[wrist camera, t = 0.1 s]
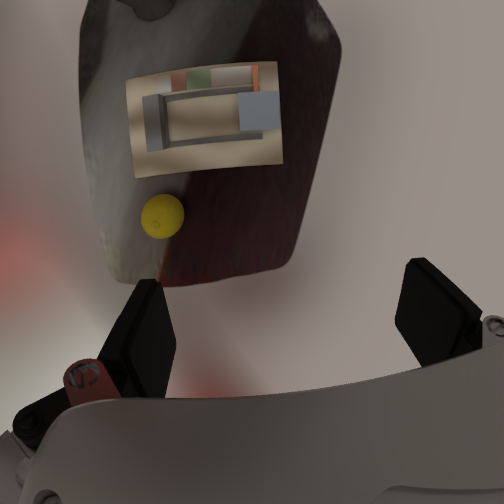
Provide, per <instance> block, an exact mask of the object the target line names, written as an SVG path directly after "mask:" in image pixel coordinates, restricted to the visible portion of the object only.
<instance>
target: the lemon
mask: <svg viewBox="0 0 504 504" xmlns="http://www.w3.org/2000/svg"><path fill="white" fill-rule="evenodd" d="M183 220H184V209H183V206H182V204H181V202H180V201H179V200H178V199H177V198H176V197H174V196H172V195H169V194H159V195H156V196H154V197H152V198H151V199H150V200H149V201H147V203H146V204H145V206H144V207H143V210H142V213H141V223H142V226H143V228H144V230H145V231H146V233H148V234H149V235H150V236H152V237H154V238H158V239H163V238H167V237H170V236H172V235H173V234H175V233H176V232H177V231H178V230H179V229H180V227H181V225H182V223H183Z"/></svg>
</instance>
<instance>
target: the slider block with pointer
mask: <svg viewBox="0 0 504 504" xmlns="http://www.w3.org/2000/svg"><path fill="white" fill-rule="evenodd" d="M252 76H253V90H254V92H243V93H238V104H239V119H240V131H248V130H265V129H280V112H279V96H278V91H261V92H259V87H258V72H257V65H252Z"/></svg>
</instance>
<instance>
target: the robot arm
mask: <svg viewBox="0 0 504 504" xmlns="http://www.w3.org/2000/svg"><path fill="white" fill-rule="evenodd" d="M481 314H482V310H481V309H480V308H479V307H478V306H477V305H476V304H475V303H474V302H473V301H472V300H471V299H470V298H469V297H467V295H466V294H464V293H463V292H462V291H461V290H460V289H459V288H458V287H457V286H456V285H455V284H454V283H453V282H451V280H449V279H448V278H447V277H446V276H445V275H444V274H443V273H442V272H441V271H440V270H438V269H437V268H436V267H435V266H434V265H433V264H432V263H430V262H429V261H428V260H427V259H426V258H424V257H423V258H412V259H411V260H410V261H409V262H408V263H407V264H406V268H405V273H404V279H403V284H402V289H401V294H400V298H399V302H398V307H397V311H396V315H395V325H396V327H397V329H398V330H399V332H400V333H401V335H402V336H403V338H404V340H405V341H406V343H407V344H408V346H409V347H410V349H411V350H412V352H413V353H414V355H415V357H416V358H417V360H418V362H419V363H420V365H421V366H422V367H421V368H417V369H413V370H409V371H405V372H401V373H397V374H393V375H388V376H384V377H380V378H375V379H371V380H366V381H361V382H356V383H350V384H344V385H339V386H332V387H327V388H320V389H312V390H305V391H297V392H288V393H279V394H269V395H256V396H241V397H219V398H165V395H166V390H167V386H168V381H169V377H170V372H171V368H172V364H173V359H174V355H175V350H176V338H175V334H174V331H173V327H172V323H171V319H170V316H169V311H168V307H167V303H166V299H165V295H164V291H163V287H162V284H161V282H157V281H156V279H140V280H139V282H138V284H137V285H136V287H135V289H134V291H133V292H132V295H131V296H130V298H129V300H128V301H127V303H126V305H125V307H124V309H123V311H122V312H121V314H120V316H119V317H118V319H117V320H116V322H115V324H114V326H113V328H112V330H111V332H110V334H109V335H108V337H107V339H106V341H105V343H104V345H103V347H102V349H101V351H100V353H99V355H98V357H97V359H90V358H89V359H83V360H79V361H77V362H75V363H74V364H72V365H71V366H70V367H69V368H68V369H67V370H66V372H65V373H64V377H63V383H64V386H65V387H63V388H61V389H59V390H58V391H56V392H54V393H52V394H50V395H48V396H46V397H44V398H42V399H40V400H38V401H36V402H34V403H32V404H30V405H28V406H26V407H24V408H23V409H21V410H20V411H19V412H18V413H17V414H16V416H15V418H14V420H13V431H12V432H11V433H10V432H9V431H8V430H7V431H5V432H4V433H3V434H2V435H1V436H0V504H504V318H502V317H499V316H494V315H491V316H487V317H485V318H484V320H483V322H482V321H481V320H480V317H481Z"/></svg>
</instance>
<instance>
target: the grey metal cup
mask: <svg viewBox="0 0 504 504" xmlns="http://www.w3.org/2000/svg"><path fill="white" fill-rule="evenodd" d="M116 1H118V2H121V3H123V4H125V5H128V6H130V7H132V9H133V11H134V13H135V15H136V16H137V17H138V18H139V19H141V20H145V21H153V20H157V19H159V18H161V17H163V16H165V15H166V14H167V13H169V12H170V10H171V9H172V8H173V6H174V3H175V0H116Z"/></svg>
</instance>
